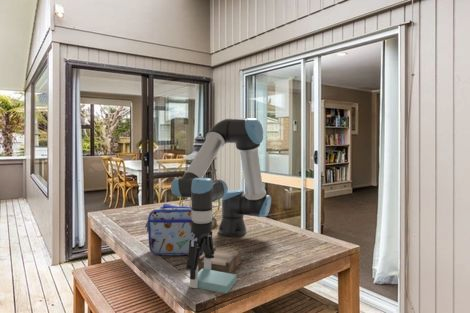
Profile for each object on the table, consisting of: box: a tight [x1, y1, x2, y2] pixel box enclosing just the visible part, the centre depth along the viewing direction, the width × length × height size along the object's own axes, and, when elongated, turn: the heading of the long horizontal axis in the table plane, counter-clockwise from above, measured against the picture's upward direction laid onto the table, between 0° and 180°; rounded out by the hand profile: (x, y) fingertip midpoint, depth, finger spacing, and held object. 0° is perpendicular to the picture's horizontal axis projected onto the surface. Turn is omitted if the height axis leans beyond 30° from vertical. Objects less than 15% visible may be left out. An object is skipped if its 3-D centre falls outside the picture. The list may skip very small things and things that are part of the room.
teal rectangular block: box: [197, 269, 238, 294], centre depth 116 cm, size 14×10×3 cm
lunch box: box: [144, 203, 204, 256], centre depth 145 cm, size 28×10×22 cm, turn 92°
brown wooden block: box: [197, 245, 242, 274], centre depth 132 cm, size 14×13×5 cm
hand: (200, 281), depth 118 cm, fingers open, 10 cm apart
